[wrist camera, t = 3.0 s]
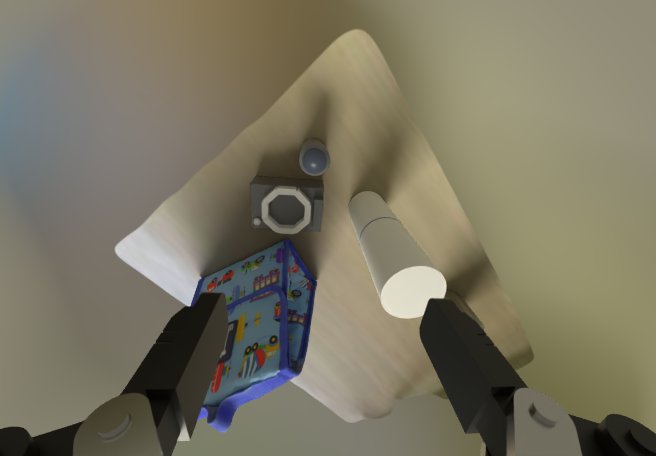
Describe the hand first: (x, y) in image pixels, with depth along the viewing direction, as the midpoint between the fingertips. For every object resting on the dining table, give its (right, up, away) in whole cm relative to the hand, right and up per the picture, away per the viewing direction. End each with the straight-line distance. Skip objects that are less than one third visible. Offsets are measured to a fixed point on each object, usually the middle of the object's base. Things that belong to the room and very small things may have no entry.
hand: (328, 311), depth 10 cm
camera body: (-7, +9, +38) cm, 39 cm away
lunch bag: (-15, -8, +45) cm, 48 cm away
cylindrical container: (+7, +7, +40) cm, 41 cm away
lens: (-3, +17, +34) cm, 38 cm away
